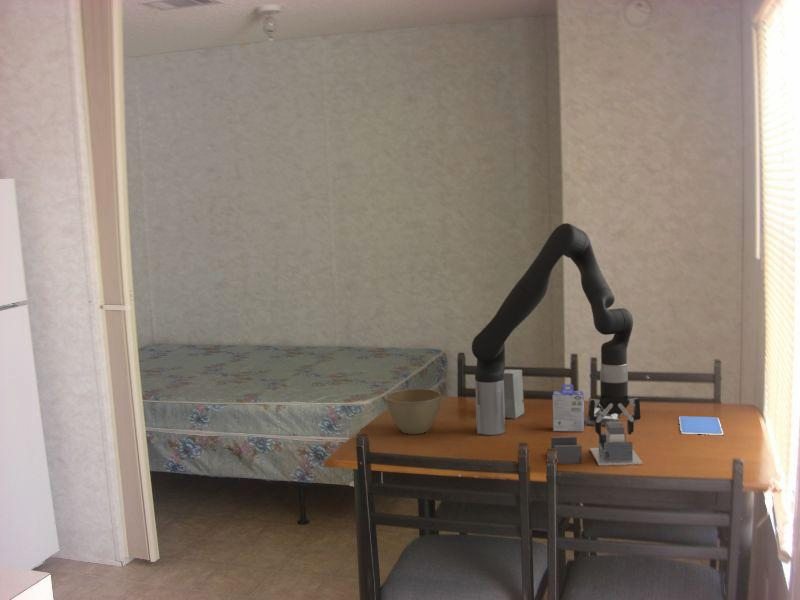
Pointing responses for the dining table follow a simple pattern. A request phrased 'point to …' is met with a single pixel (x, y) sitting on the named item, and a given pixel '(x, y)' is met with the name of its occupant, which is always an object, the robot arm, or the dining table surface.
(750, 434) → the dining table surface
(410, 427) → the flower pot
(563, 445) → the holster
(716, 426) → the tablet computer
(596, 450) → the block
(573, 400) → the ink cartridge box
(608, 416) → the graphics card
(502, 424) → the robot arm
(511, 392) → the skincare box
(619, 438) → the plug
